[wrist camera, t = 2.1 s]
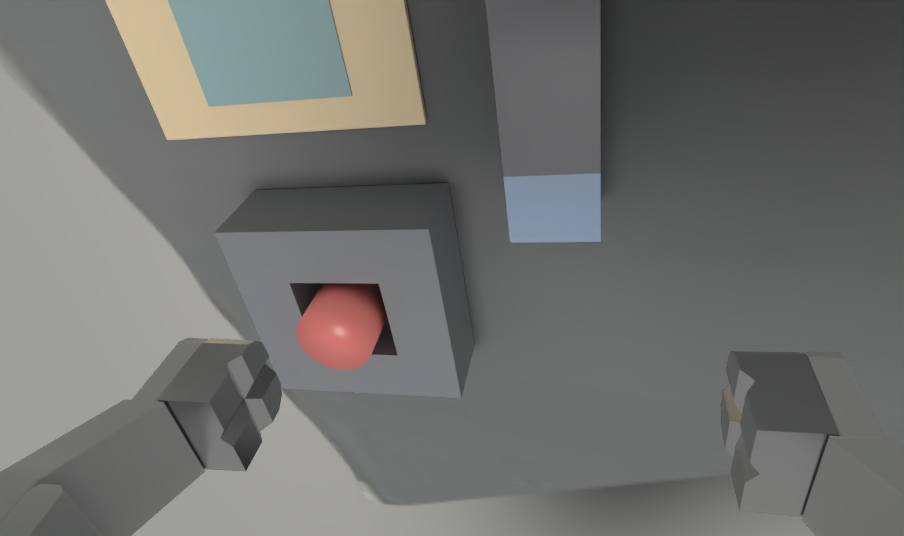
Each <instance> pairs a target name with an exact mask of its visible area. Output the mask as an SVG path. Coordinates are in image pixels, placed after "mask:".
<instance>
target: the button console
mask: <svg viewBox="0 0 904 536" xmlns="http://www.w3.org/2000/svg"><path fill="white" fill-rule="evenodd" d="M215 235H216V238H217V240H218V242H219V245H220V247H221V249H222V251H223V254H224V256H225V258H226V261H227V263H228V265H229V268H230V270H231V272H232V274H233V277H234V279H235V281H236V284H237V286H238V288H239V290H240V293H241V295H242V297H243V300H244V302H245V304H246V307H247V309H248V311H249V313H250V316H251V318H252V320H253V323H254V325H255V327H256V330H257V332H258V334H259V336H260V339H261V341H262V343H263V344H264V346H265V348H266V351H267V353H268V355H269V359H270V362H271V364H272V366H273V369H274V371H275V372H276V373H277V376H278V378H279V381H280V383H281V387H282V388H285V389H304V390H322V391H340V392H359V393H377V394H395V395H414V396H432V397H451V398H461V397H462V393H463V389H464V385H465V381H466V377H467V373H468V369H469V365H470V361H471V357H472V352H473V348H474V344H475V343H474V337H473V330H472V324H471V318H470V312H469V306H468V300H467V294H466V287H465V281H464V275H463V269H462V263H461V257H460V251H459V244H458V238H457V232H456V226H455V220H454V214H453V208H452V201H451V195H450V189H449V183H433V184H405V185H377V186H349V187H321V188H293V189H265V190H255V191H254V192H253V193H252V194H251V195H250V196H249V197H248V198H247V199H246V200H245V201H244V202H243V203H242V204H241V205H240V206H239V207H238V208H237V210H236V211H235V212H234V213H233V214H232V215H231V216H230V217H229V218H228V219H227V220H226V221H225V222H224V223H223V224H222V225H221V226H220V227H219V228H218V230H217V231H216V232H215ZM322 283H365V284H379V287H380V291H381V294H382V298H383V302H384V306H385V309H386V313H387V320H386V322H385V324H384V327H383V329H382V331H381V334H380V336H379V338H378V340H377V343H376V345H375V347H374V350H373V352H372V354H371V357H370V358H369V360H368V361H367V362H366V363H365V364H364V365H363V366H361V367H359V368H356V369H351V370H339V369H334V368H330V367H327V366H325V365H323V364H320V363H319V362H317V361H315V360H314V359H313V358H311V357H310V356H309V355H308V354H307V353H306V352H305V351H304V350H303V349H302V347H301V346H300V344H299V342H298V339H297V335H296V328H297V325H298V323H299V321H300V319H301V318H302V316H303V314H304V313H305V311H306V309H307V308H308V306H309V304H310V303H311V301H312V300H313V298H314V296H315V295H316V293H317V291H318V290H319V288H320V286H321V285H322Z"/></svg>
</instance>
